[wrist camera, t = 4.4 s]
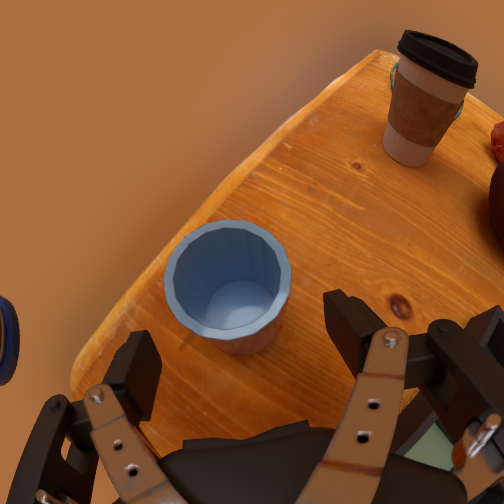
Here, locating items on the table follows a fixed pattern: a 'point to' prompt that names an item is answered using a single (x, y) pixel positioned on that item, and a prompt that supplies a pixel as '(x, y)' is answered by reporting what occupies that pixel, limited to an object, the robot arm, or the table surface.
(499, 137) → the pomegranate
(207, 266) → the blue cup
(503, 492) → the black divided tray
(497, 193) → the dark brown oval ball
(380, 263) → the table surface
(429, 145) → the coffee cup
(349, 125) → the table surface
